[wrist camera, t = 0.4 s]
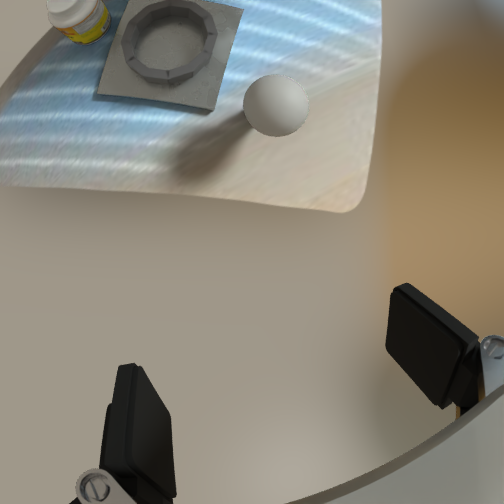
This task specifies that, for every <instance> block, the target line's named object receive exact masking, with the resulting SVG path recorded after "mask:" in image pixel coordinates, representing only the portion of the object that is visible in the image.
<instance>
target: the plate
mask: <svg viewBox="0 0 504 504" xmlns="http://www.w3.org/2000/svg"><path fill="white" fill-rule="evenodd" d="M160 1H164V0H129V2H128V4H127V6H126V9H125V11H124V13H123V16H122V18H121V21H120V23H119V26H118V28H117V31H116V34H115V36H114V39H113V42H112V45H111V48H110V51H109V54H108V57H107V60H106V63H105V66H104V70H103V73H102V76H101V80H100V83H99V87H98V91H97V94H99V95H108V96H119V97H129V98H138V99H146V100H153V101H160V102H167V103H173V104H179V105H185V106H191V107H196V108H201V109H206V110H211V111H214V109H215V105H216V101H217V97H218V93H219V90H220V86H221V82H222V79H223V75H224V72H225V68H226V65H227V61H228V58H229V55H230V51H231V48H232V45H233V41H234V38H235V35H236V32H237V29H238V26H239V23H240V20H241V16H242V13H243V11H244V9H240V8H236V7H232V6H228V5H223V4H218V3H213V2H208V1H202V0H186V1H192V2H195V3H197V4H198V5H199V6H201V7H202V8H204V9H205V10H206V11H208V12H209V13H210V14H211V15H212V17H213V20H214V23H215V26H216V29H217V32H218V36H217V39H216V42H215V45H214V48H213V52H212V55H211V58H210V61H209V62H208V63H207V64H206V65H205V66H204V67H203V68H202V69H201V70H200V71H199V72H198V73H197V74H196V75H195V76H193V77H192V78H189V79H186V80H183V81H179V82H176V83H173V84H169V85H168V84H161V83H154V82H147V81H145V80H144V79H143V78H142V77H140V76H139V75H138V74H137V73H135V72H134V71H133V70H131V69H130V67H129V66H128V65H127V63H126V61H125V58H124V54H123V50H122V46H121V40H122V37H123V34H124V32H125V29H126V26H127V24H128V22H129V21H130V20H131V19H132V18H133V17H134V16H135V15H136V14H138V13H139V12H140V11H141V10H142V9H143V8H145V7H146V6H148V5H151V4H154V3H157V2H160ZM205 42H206V40H205V37H204V34H203V31H202V28H201V27H200V26H198V25H197V24H196V23H194V22H193V21H192V20H190V19H189V18H184V17H177V16H168V17H165V18H162V19H159V20H155V21H153V22H152V23H151V24H149V25H148V26H147V27H146V28H145V29H144V30H143V31H142V32H141V33H140V34H139V37H138V39H137V42H136V45H135V48H134V50H135V53H136V57H137V59H138V60H139V61H140V62H142V63H143V64H144V65H145V66H147V67H148V68H155V69H162V70H170V69H174V68H177V67H180V66H183V65H186V64H189V63H190V62H191V61H192V60H193V59H194V58H195V57H196V56H197V55H198V54H200V53H201V52H202V51H203V49H204V45H205Z"/></svg>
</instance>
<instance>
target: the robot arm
mask: <svg viewBox="0 0 504 504" xmlns="http://www.w3.org/2000/svg"><path fill="white" fill-rule="evenodd" d="M478 338H479V337H478V336H477V335H476V334H475V333H473V332H472V331H471V330H470V329H469V328H467V327H466V326H465V325H463V324H462V323H461V322H460V321H459V320H457V319H456V318H455V317H453V316H452V315H451V314H449V313H448V312H447V311H446V310H444V309H443V308H442V307H440V306H439V305H438V304H436V303H435V302H434V301H432V300H431V299H430V298H428V297H427V296H426V295H424V294H423V293H422V292H420V291H419V290H418V289H416V288H415V287H414V286H412V285H411V284H409V283H404V284H402V285H399V286H397V287H395V288H394V289H393V292H392V293H391V295H390V306H389V317H388V327H387V335H386V344H385V346H386V350H387V352H388V353H389V354H390V355H391V356H392V357H393V359H394V360H395V361H396V362H397V363H398V364H399V365H400V367H401V368H402V369H403V370H404V371H405V372H406V373H407V374H408V376H409V377H410V378H411V379H412V380H413V381H414V382H415V384H416V385H417V386H418V387H419V388H420V389H421V390H422V391H423V393H424V394H425V395H426V396H427V397H428V399H429V400H430V401H431V402H432V403H433V404H434V405H438V406H439V407H440V408H441V409H444V408H445V407H447V406H449V405H450V404H451V403H452V402H454V403H455V404H456V419H455V421H454V422H452V423H451V424H450V425H448V426H447V427H445V428H444V429H442V430H441V431H439V432H438V433H437V434H435V435H433V436H432V437H430V438H429V439H427V440H426V441H424V442H423V443H421V444H419V445H418V446H416V447H414V448H413V449H411V450H409V451H408V452H406V453H404V454H402V455H400V456H399V457H397V458H395V459H393V460H391V461H389V462H388V463H386V464H384V465H382V466H380V467H378V468H376V469H374V470H372V471H370V472H368V473H365V474H363V475H361V476H359V477H357V478H354V479H352V480H350V481H348V482H345V483H343V484H340V485H338V486H335V487H333V488H330V489H328V490H325V491H322V492H319V493H317V494H314V495H311V496H308V497H305V498H302V499H299V500H296V501H292V502H289V503H286V504H504V337H501V336H498V335H489V336H487V337H485V338H484V339H483V340H482V341H481V343H479V342H478ZM174 472H175V471H174V459H173V445H172V428H171V416H170V413H169V411H168V410H167V408H166V407H165V405H164V403H163V402H162V400H161V399H160V397H159V395H158V394H157V392H156V390H155V389H154V387H153V385H152V383H151V382H150V380H149V378H148V377H147V375H146V373H145V371H144V370H143V368H142V367H141V366H137V365H136V364H135V363H131V364H125V365H120V366H119V367H118V371H117V376H116V382H115V387H114V393H113V399H112V403H111V404H109V405H108V407H107V411H106V417H105V424H104V431H103V439H102V446H101V455H100V465H99V469H90V470H87V471H86V472H84V473H83V474H82V475H81V476H80V477H79V479H78V480H77V482H76V494H77V496H78V497H77V498H75V499H74V500H73V501H72V502H71V503H70V504H173V499H172V498H175V497H176V495H177V493H176V482H175V473H174Z"/></svg>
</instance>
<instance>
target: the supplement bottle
mask: <svg viewBox="0 0 504 504" xmlns="http://www.w3.org/2000/svg"><path fill="white" fill-rule="evenodd" d="M47 9H48V11H49V12H48V18H49V21H50V23H51V24H52V25H53V26H54V27H56V28H57V29H58V30H59V31H61V32H62V33H63V34H64V35H65V36H67V37H68V38H69V39H71V40H72V41H73V42H74V43H76V44H79V45H89V44H92V43H94V42H96V41H98V40H99V39H101V38H102V37H103V36H104V35H105V34H106V33H107V31H108V30H109V28H110V25H111V16H110V13H109V12H108V10H107V8H106V7H105V5H104V3H103V2H102V0H48V1H47Z"/></svg>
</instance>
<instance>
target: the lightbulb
mask: <svg viewBox="0 0 504 504" xmlns="http://www.w3.org/2000/svg"><path fill="white" fill-rule="evenodd" d="M243 108H244V113H245V116H246V118H247V120H248V122H249V123H250V124H251V125H252V127H253V128H254V129H256V130H257V131H258V132H260V133H262V134H264V135H268V136H274V137H280V136H286V135H289V134H291V133H293V132H295V131H296V130H298V129H299V128H300V127H301V126H302V125H303V124H304V122H305V120H306V118H307V116H308V112H309V99H308V96H307V94H306V92H305V90H304V89H303V87H302V86H301V85H300V84H299V83H298V82H296V81H295V80H293V79H291V78H290V77H287V76H284V75H268V76H264V77H262V78H259V79H258V80H256V81H255V82H254V83H252V84H251V86H250V87H249V88H248V90H247V91H246V93H245V96H244V101H243Z"/></svg>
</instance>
